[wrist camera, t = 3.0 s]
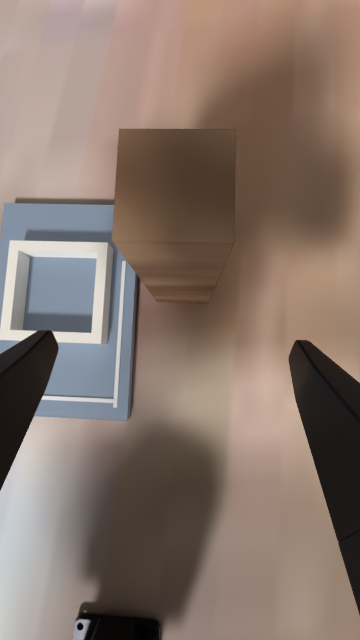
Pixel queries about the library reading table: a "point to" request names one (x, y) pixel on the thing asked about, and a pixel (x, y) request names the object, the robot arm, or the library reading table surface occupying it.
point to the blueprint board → (71, 304)
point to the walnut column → (175, 208)
